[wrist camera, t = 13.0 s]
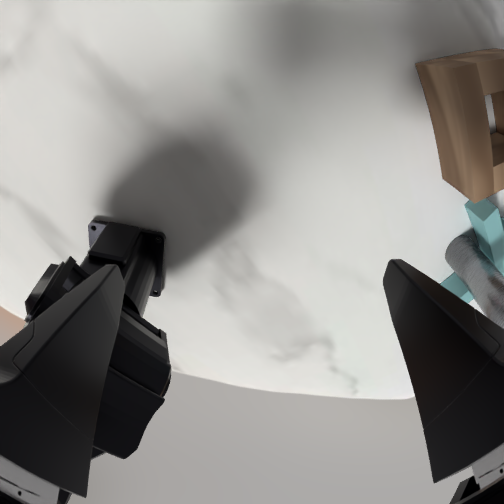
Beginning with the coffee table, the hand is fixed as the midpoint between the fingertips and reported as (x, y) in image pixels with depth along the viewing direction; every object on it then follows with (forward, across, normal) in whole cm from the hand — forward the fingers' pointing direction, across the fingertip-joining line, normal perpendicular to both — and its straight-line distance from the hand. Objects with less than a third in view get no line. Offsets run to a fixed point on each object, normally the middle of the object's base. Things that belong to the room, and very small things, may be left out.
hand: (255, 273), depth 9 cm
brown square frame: (+12, -18, -6) cm, 22 cm away
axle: (+12, -21, +8) cm, 25 cm away
